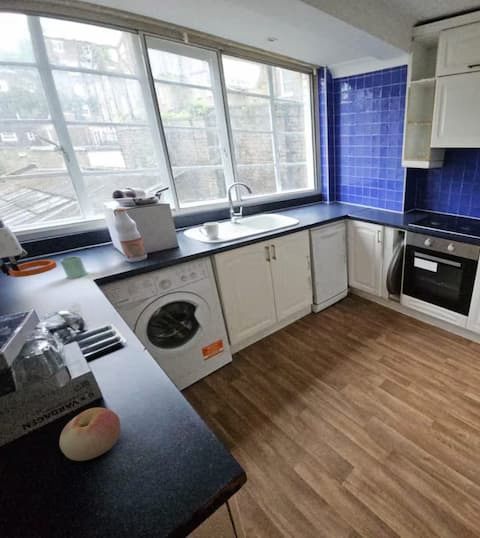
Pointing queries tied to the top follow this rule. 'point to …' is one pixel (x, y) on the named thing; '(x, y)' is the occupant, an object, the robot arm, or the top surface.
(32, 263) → the ring
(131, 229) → the fruit juice
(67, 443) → the apple
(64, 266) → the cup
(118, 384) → the top surface
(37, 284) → the top surface
